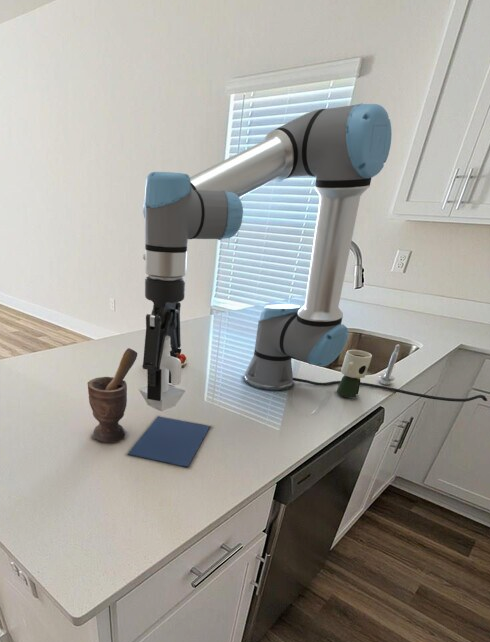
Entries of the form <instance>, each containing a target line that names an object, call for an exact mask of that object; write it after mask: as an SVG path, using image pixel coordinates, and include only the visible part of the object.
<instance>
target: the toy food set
mask: <svg viewBox="0 0 490 642" xmlns="http://www.w3.org/2000/svg"><path fill="white" fill-rule="evenodd" d="M176 354H177V353H176ZM177 358H178V359H179V360H180V361H181V368H183V367H184V366H185V365H186V364H187V363H188V360H187V356H186V355H185V354H184V353H181V354H177Z"/></svg>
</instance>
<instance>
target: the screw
mask: <svg viewBox="0 0 490 642" xmlns="http://www.w3.org/2000/svg"><path fill="white" fill-rule="evenodd" d="M400 348H401V344H400V343H398V344H396V345H395V347H394V349H393V352H392V353H391V357H390V359H389V362H388V364H387V367H386V370H385V373H382V374H381V373H380V374H379V375H378V378H379V380H380V384H381V385H383V386H388V385H390V383H391V382H394V381H395V377H394V376H393V375H392V373H393V370H394V368H395V365H396V362H397V359H398V357H399V356H398V355H399V354H400Z"/></svg>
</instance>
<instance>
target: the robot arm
mask: <svg viewBox="0 0 490 642" xmlns="http://www.w3.org/2000/svg"><path fill="white" fill-rule="evenodd" d="M392 134H393V133H392V123H391V119H390V116H389V113H388V111H387V110H386V109H385V107H384V106H382V105H381V104H378V103H362V102H361V103H357V104H353V105H344V106H337V107H330V108H319V109H315V110H311V111H309V112H307V113H304V114H303V115H300V116H298V117H296V118H294V119H292V120H290V121H288V122H287V123H285V124H283V125H281V126H279V127H277V128H275V129H273V130H271V131H269V132H268V133H267V134H266V136H265V137H264V138H263V141H261V142H259V143H257V144H254V145H253V146H251V147H248V148H247V149H244V150H242V151H240V152H239V153H237V154H235V155H232V156H231V157H228V158H226V159H225V160H222V161H221V162H218V163H217V164H214V165H212V166H210V167H208V168H206V169H204V170H201V171H200V172H198V173H196V174H194V175H192V176H190V175H189V174H187V173H183V172H170V171H152V172H150V173H149V174H148V175H147V176H146V178H145V189H144V200H143V206H142V214H143V217H144V233H145V234H144V240H145V241H144V244H145V246H144V249H145V251H144V254H143V256H142V259H143V260H144V262H145V263H144V265H145V266H144V268H145V269H144V271H145V273H146V275H147V276H146V277H145V278H144V297H145V299H147V300H148V301H150V302H152V303H153V305H152V310H151V314H149V313H146V315H145V336H144V337H145V338H144V348H143V360H142V369H143V370H146V371H147V376H146V377H147V381H146V382H147V386H146V387H147V399H150V400H156V401H160V400H161V373H162V369H160V364H161V358H162V352H163V347H164V341H165V337H166V336H169V337H170V345H171V346H170V347H171V348H172V350H171V351H170V356H172V357H175V358H177V354H182V348H181V346H182V343H181V342H182V341H181V305H182V304H181V302H183V301H184V300H185V294H186V293H185V291H186V280H185V279H184V277H185V276H186V275H187V259H188V242H189V240H218V241H221V240H224V239H231V238H233V237H234V236H235V235H237V233H238V232H239V230H240V228H241V227H242V225H243V218H244V215H243V214H244V207H243V203H242V200H241V199H240V198H242V197H244V196H246V195H248V194H250V193H252V192H253V191H256V190H257V189H260V188H262V187H263V186H266V185H267V184H270V183H271V182H274V183H282V182H283V181H285V180H288V179H290V178H299V177H314V178H315V177H316V178H315V184H314V189H315V191H316V192H317V194H318V195H319V203H318V209H317V210H318V212H317V218H316V225H315V231H314V237H313V245H312V252H311V259H310V266H309V273H308V278H307V284H306V293H305V299H304V305H303V306H301V305H298V304H270V305H266V306H264V307H262V309H261V311H260V314H259V319H258V320H257V321H258V324H257V329H256V330H257V331H256V336H255V344H254V351H253V355H252V358H251V360H250V361H249V364H248V366H247V368H246V370H245V373H244V378H243V379H244V382H245V383H246V384H248V385H249V386H251V387H254V388H256V389H261V390H266V391H283V390H287V389H289V388H291V387H292V386H293V381H295V382H298V383H306V384H308V385H309V384H310V385H313V386H322V387H323V386H324V387H325V386H330V385H331V386H332V385H339V384H340V382H341V380H333V381H327V382H326V381H325V382H318V381H312V380H308V379H303V378H298V377H294V373H293V365H292V358H294V359H297V360H299V361H302V362H304V363H307V364H309V365H311V366H312V365H314V366H316V367H326V366H329V365H330V364H332V363H333V362H334V361H336V359H337V358H339V356H340V355H341V353H342V352H343V350H344V348H345V346H346V344H347V342H348V338H349V330H348V327H347V326H345V324H342V322H343V318H344V313H343V311H342V310H341V309H340V301H341V296H342V291H343V286H344V282H345V281H344V280H345V275H346V272H347V266H348V261H349V256H350V251H351V246H352V241H353V235H354V230H355V225H356V221H357V220H356V219H357V215H358V210H359V206H360V200H361V196H362V195H363V194H364V193H365V192H366V191H367V190H368V189H369V188H370V187H371V184H372V183H371V182H372V178H374V177H375V176H377V175H378V174H380V172H381V171H382V170H383V168H384V166H385V163H386V162H387V160H388V157H389V155H390V150H391V144H392V136H393V135H392ZM176 353H177V354H176ZM169 384H172V383H171V372H170V370H169ZM360 386H364V387H371V388H375V389H380V390H386V391H392V392H395V393H399V394H405V395H409V396H414V397H419V398H424V399H430V400H436V401H444V402H461V403H462V402H463V403H464V402H465V403H466V402H471V401H474V400H477V399H482V400H483V401H484V402H488V398H487V397H486V396H485V395H483V394H477V395H474V396H471V397H467V398H457V397H456V398H455V397H444V396H443V397H442V396H434V395H429V394H424V393H418V392H414V391H413V392H412V391H408V390H404V389H401V388H400V389H399V388H396V387H395V388H394V387H390V386H386V385H379V384H375V383H368V382H362V381H360Z"/></svg>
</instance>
